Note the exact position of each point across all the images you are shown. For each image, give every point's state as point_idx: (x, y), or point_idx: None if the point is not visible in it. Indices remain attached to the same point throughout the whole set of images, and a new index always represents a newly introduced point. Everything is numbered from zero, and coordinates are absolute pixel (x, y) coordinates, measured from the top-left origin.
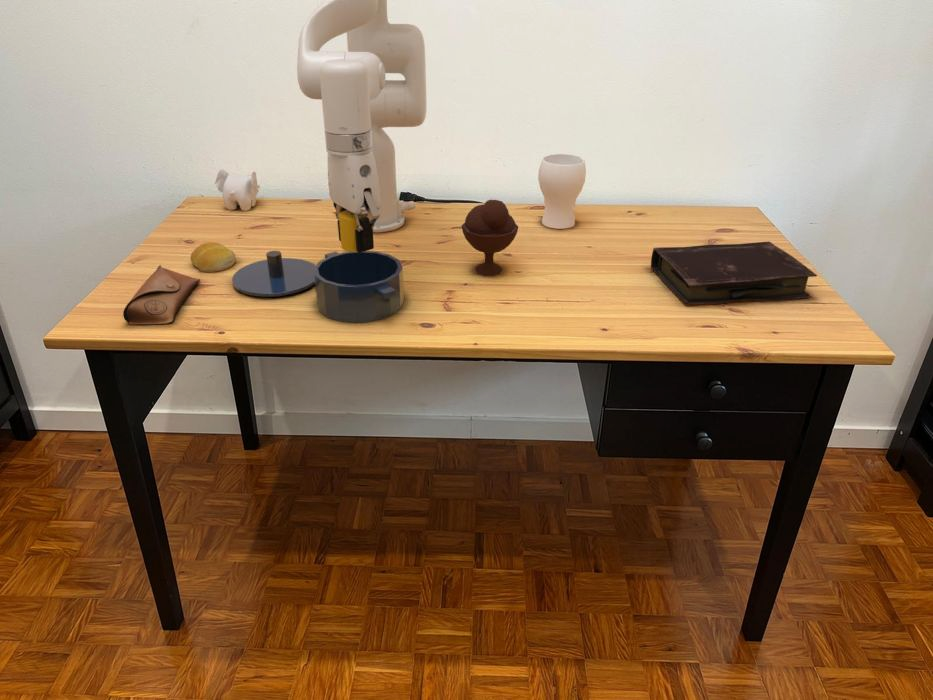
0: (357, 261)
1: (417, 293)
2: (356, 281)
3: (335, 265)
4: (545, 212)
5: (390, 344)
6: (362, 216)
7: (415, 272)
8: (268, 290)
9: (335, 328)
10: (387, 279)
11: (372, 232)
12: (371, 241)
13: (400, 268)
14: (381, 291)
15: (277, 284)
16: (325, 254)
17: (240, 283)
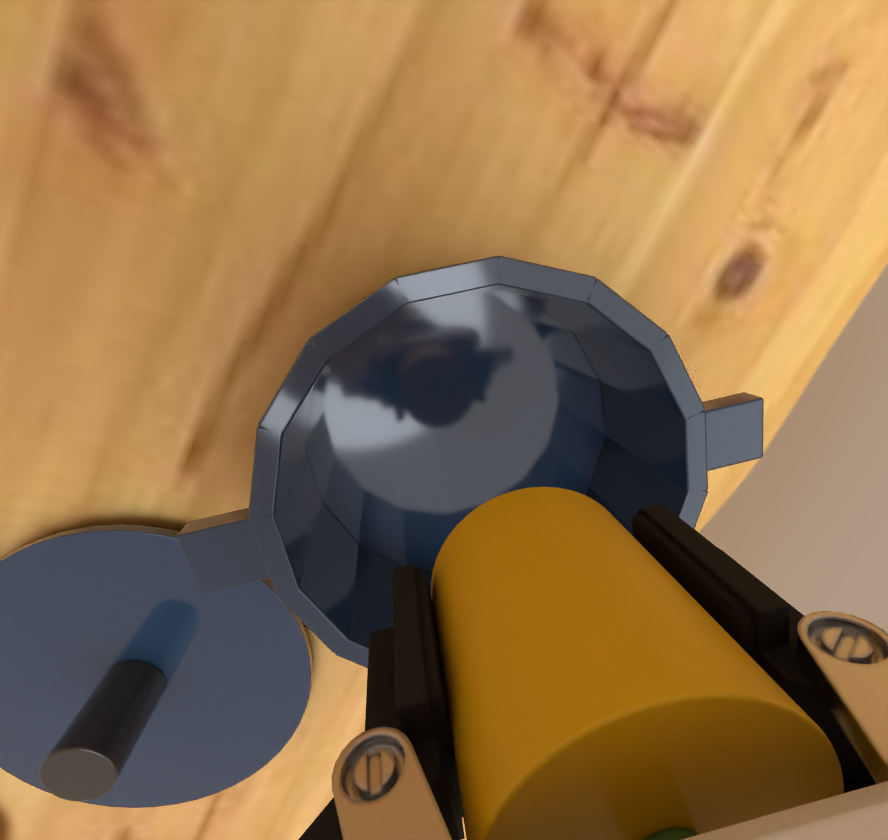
0: (292, 436)
1: (482, 188)
2: (308, 417)
3: (303, 546)
4: None
5: (770, 436)
6: (805, 784)
7: (250, 83)
8: (273, 717)
9: None
10: (695, 413)
11: (747, 575)
12: (733, 560)
13: (611, 298)
14: (740, 461)
15: (232, 688)
16: (204, 591)
17: (178, 787)
